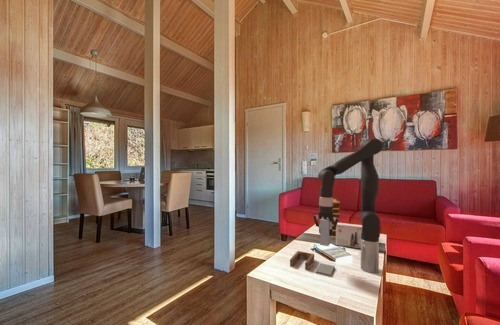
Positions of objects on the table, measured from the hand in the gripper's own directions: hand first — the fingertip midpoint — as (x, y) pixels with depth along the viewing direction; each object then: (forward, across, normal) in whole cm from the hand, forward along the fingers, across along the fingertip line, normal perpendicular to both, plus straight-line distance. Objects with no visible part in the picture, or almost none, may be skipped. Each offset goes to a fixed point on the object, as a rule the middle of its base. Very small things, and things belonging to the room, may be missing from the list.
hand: (325, 234), depth 131 cm
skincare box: (+21, -9, -50) cm, 55 cm away
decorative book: (+21, +8, -74) cm, 77 cm away
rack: (+20, +14, -2) cm, 25 cm away
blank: (+5, 0, 0) cm, 5 cm away
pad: (+20, 0, 0) cm, 20 cm away
